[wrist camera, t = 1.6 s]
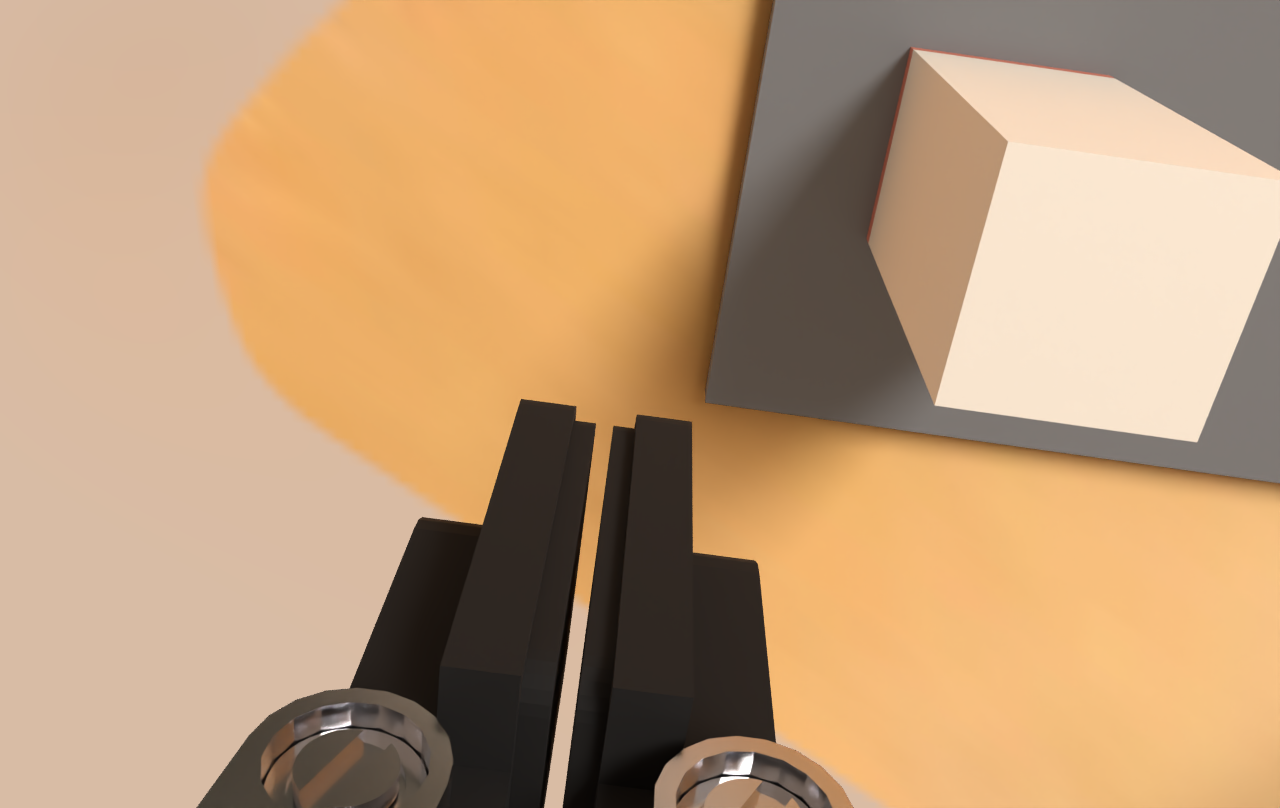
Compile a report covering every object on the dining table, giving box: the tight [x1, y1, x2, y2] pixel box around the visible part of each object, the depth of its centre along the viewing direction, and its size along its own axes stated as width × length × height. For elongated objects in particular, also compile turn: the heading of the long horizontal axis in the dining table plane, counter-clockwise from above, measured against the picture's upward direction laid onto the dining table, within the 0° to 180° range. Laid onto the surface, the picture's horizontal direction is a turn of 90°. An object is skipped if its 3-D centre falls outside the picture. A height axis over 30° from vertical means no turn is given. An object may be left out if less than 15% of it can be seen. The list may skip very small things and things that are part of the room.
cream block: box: [866, 47, 1280, 442], centre depth 24 cm, size 5×5×10 cm
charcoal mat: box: [705, 0, 1280, 483], centre depth 29 cm, size 20×16×1 cm
